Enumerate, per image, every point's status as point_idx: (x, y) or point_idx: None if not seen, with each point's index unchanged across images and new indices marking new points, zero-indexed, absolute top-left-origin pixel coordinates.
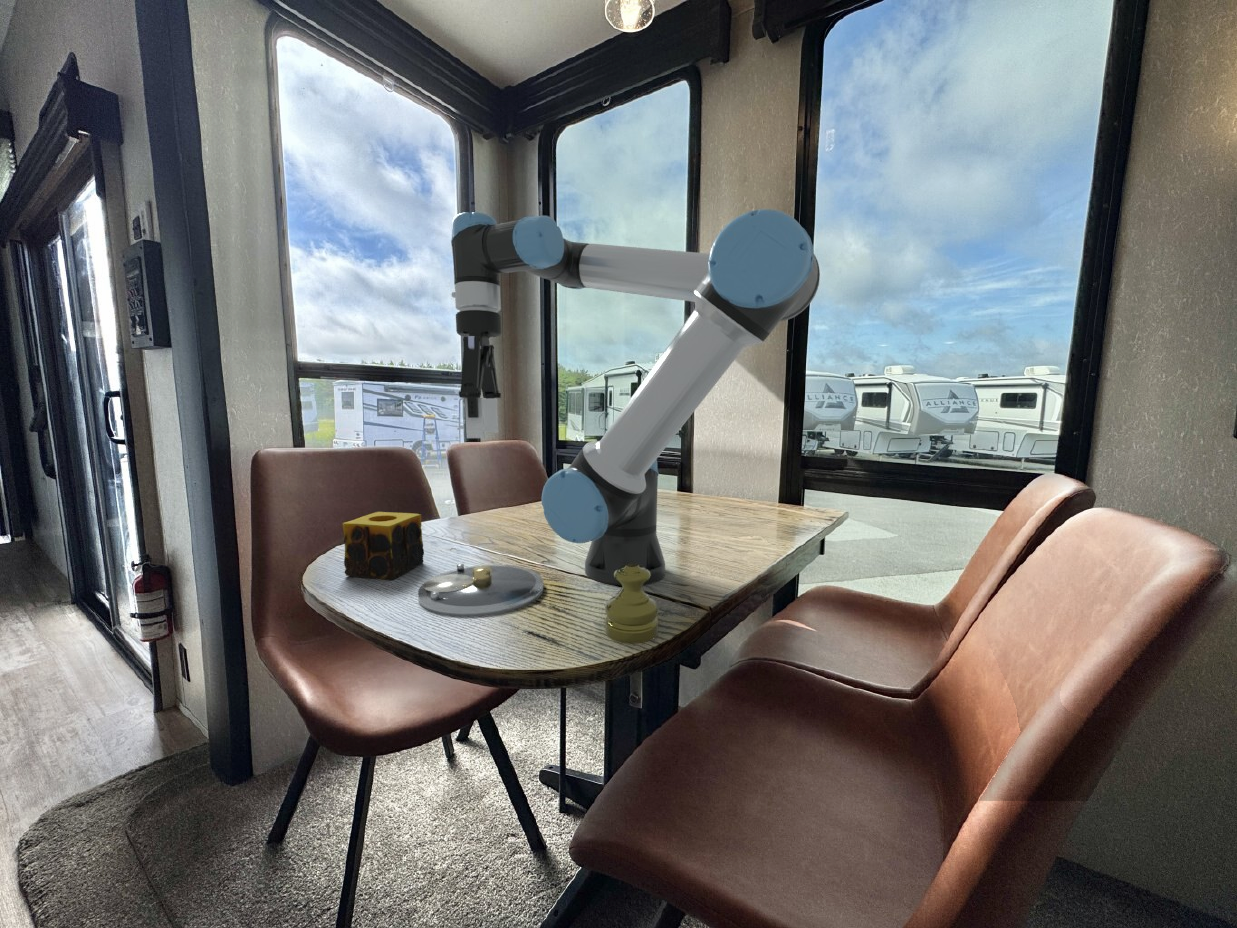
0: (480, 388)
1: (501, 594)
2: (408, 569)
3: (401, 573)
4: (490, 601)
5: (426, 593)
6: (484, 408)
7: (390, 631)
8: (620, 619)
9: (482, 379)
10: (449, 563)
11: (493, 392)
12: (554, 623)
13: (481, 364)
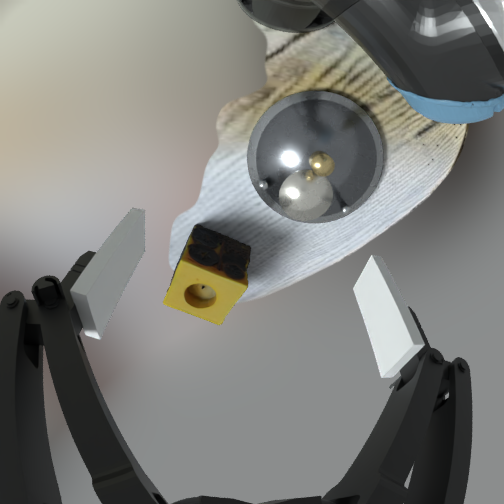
0: (432, 374)
1: (359, 145)
2: (225, 236)
3: (237, 242)
4: (372, 158)
5: (324, 215)
6: (114, 302)
7: (371, 234)
8: None
9: (407, 412)
10: (202, 195)
11: (73, 326)
12: (412, 109)
13: (403, 479)
